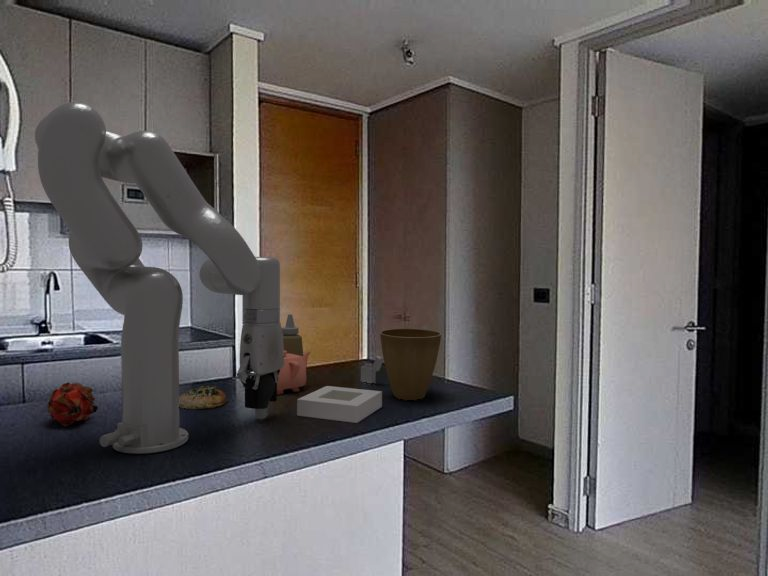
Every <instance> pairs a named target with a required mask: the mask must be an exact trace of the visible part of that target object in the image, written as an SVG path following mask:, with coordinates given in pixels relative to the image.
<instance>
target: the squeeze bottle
mask: <svg viewBox="0 0 768 576" xmlns="http://www.w3.org/2000/svg"><path fill="white" fill-rule="evenodd" d="M293 317H294V316H293V314H287V318H286V323H285V326H284V327H283V326H282V333H283V345H284V351H287V353H289V354H294V355H299V356H302V357H303V355H304V349H303V348H304V347H303V337H302V336H301V335H299V327H297V326H295V322H294V318H293Z"/></svg>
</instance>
